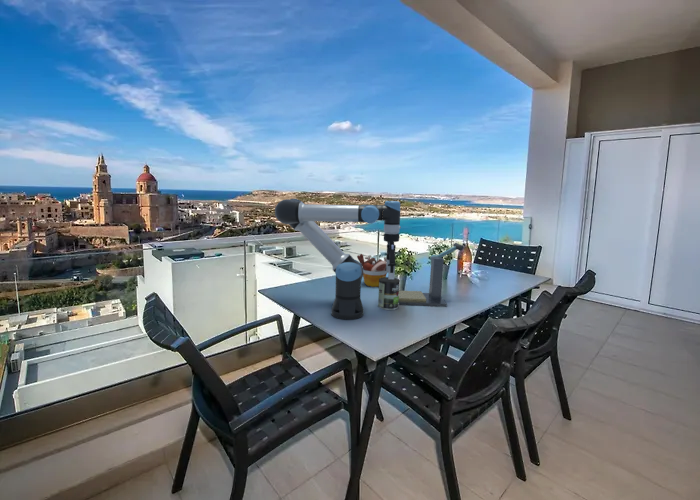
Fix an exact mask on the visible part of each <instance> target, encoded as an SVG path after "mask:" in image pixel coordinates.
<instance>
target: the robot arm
mask: <svg viewBox="0 0 700 500" xmlns="http://www.w3.org/2000/svg"><path fill="white" fill-rule="evenodd" d="M274 214H275V217H276V219H277V221H279V222H280V223H281V224H284V225H289V226H290V227H291V228H292V229H293V230H294V231H297V232H300V233H301V234H302V235H303V236H304V237H305V239H307V240H308V241H309V242H310V244H311V245H312V246H314V248H315V249H316V250H317V251H318V252H319V253H320V254H321V255H322V256H323V257H324V258H325V260H327V261H328V262H329V264H330V265H331V266H332V271H333V272H334V274H335V298H334V300H333V304H332V306H331V316H333V317H334V318H337V319H340V320H356V319H360V318H362V317H363V316H364V313H365V310H364V307H363V303H362V299H361V289H362V279H363V267H362V265H361V264H360V262H359V260H358V259H355V258H353V256H352V255H351V254H350V253H346V252H345V253H344V251H343V250H342V249H341V248H340V247H339V246H338V245H337V244H336V243H335V242H334V241H333V240H332V238H331V237H330V236H329V235H328V234H327V233H326V231H324V230H323V229H322V228H321V227H320V226H319V225H318V224H317V222H338V223H339V222H341V223H342V222H343V223H367V224H373V223H376V222H377V221H381V222H383V221H384V222H383V241H384V242H386V256H385V257H386V258H387V262H386V263H387V264H386V273H387V274H388V279H394V278H395V272H396V271H395V267H396V265H397V264H396V248H397V247H396V244H395V243H397V242H399V241H400V229H401V225H400V224H401V223H400V222H401V202H400V201H397V200H385V202H384V204H361V205H358V204H357V205H355V204H354V205H353V204H314V203H313V204H312V203H311V204H309V203H304V202H303V201H301V200H300V199H298V198H290V199H289V198H287V199H283V200H280V201H278V202H277V204H276V205H275V208H274Z"/></svg>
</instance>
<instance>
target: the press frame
mask: <svg viewBox="0 0 700 500" xmlns="http://www.w3.org/2000/svg"><path fill="white" fill-rule="evenodd" d="M444 260H445V259H444V258H443V257H432V258H431V257H430V261H431V262H430V275H429V276H430V277H429V287H428V288H429V289H428V290H429V291H428V292H422V291H420V290H419V291H418V290H399V300H398V306H417V307H446V308H447V305H448V304H447V302H446V301H445V300H444V299H443V297H442V288H443V276H444V274H443V273H444Z"/></svg>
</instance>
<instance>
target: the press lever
mask: <svg viewBox="0 0 700 500" xmlns="http://www.w3.org/2000/svg"><path fill="white" fill-rule="evenodd" d="M456 250H457V251H460V252H461V251H463V250H464V246H463V245H462V244H460V243H458V242H454V243H453V246H452V247H450V248H448V249H447V250H445V251H442V252H441V253H438V254H432V255H431V256H430V259H431V258H432V257H442V258H443V257H445V256H447V255H449V254H451V253H453V252H455V251H456Z"/></svg>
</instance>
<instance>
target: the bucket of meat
mask: <svg viewBox="0 0 700 500" xmlns="http://www.w3.org/2000/svg"><path fill="white" fill-rule="evenodd" d="M356 257H357V261H358V262H360V264H361V265H362V267H363V277H362V279H363V283H364V284H365V285H366V286H367V287H370V286H371V287H370V288H379V279H380V278H383V277H387V274H388V273H386V264H387V257H386V256H384V257H383V260H382V259H380V258H379V259H378V260H376V258H375V257H372V255H370V254H369V255H368V256H365V257H364V255H363V254H362V253H360V254H359V255H357V256H356Z"/></svg>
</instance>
